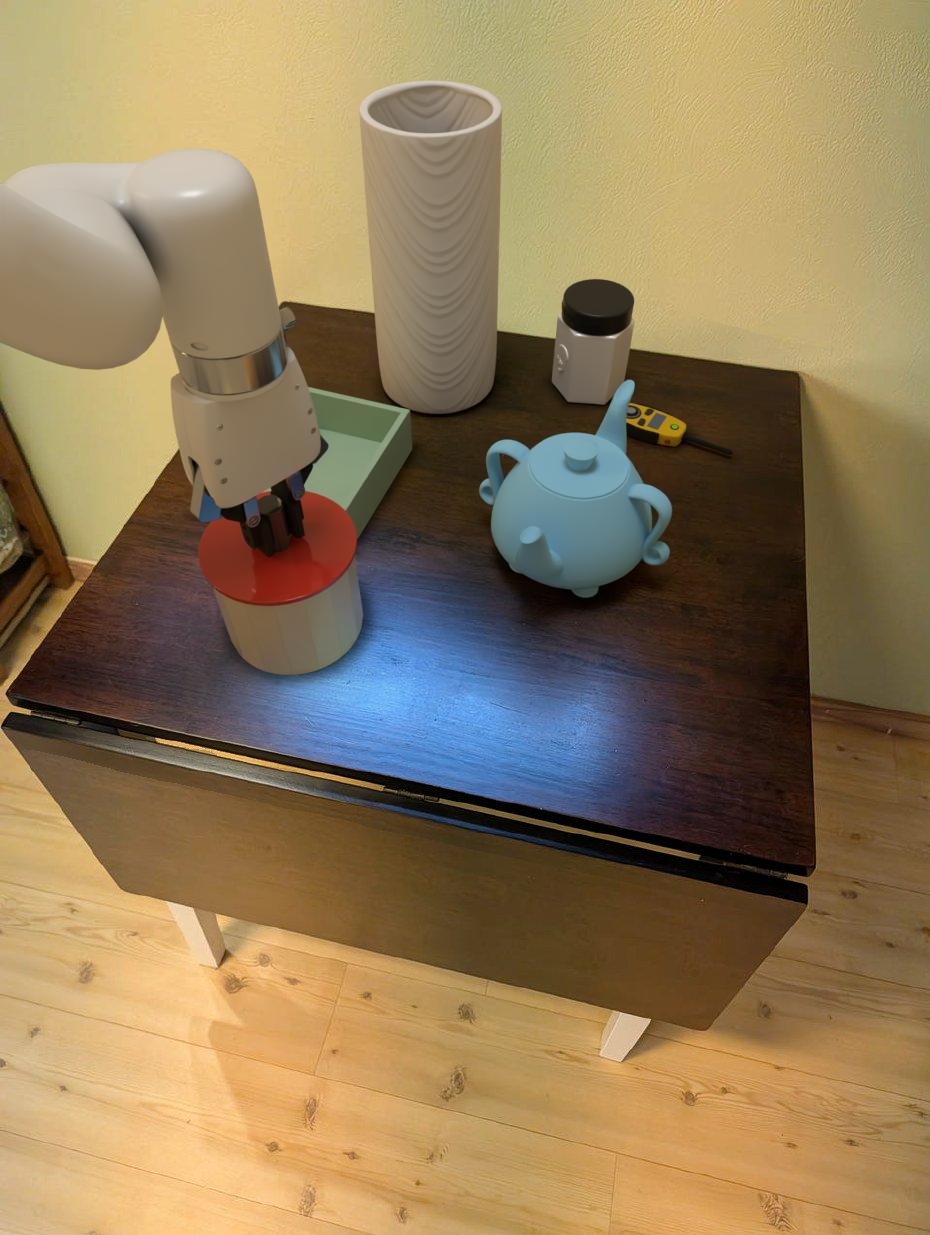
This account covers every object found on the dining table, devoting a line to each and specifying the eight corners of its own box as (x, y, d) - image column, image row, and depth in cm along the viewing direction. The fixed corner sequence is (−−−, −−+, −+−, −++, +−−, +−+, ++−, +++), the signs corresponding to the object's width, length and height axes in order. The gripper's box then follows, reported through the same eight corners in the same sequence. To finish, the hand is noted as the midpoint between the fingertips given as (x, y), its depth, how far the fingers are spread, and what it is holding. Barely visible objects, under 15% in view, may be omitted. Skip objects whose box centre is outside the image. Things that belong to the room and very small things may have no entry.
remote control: (621, 393, 101) (742, 433, 97) (619, 406, 103) (738, 446, 98) (604, 415, 99) (728, 457, 94) (602, 428, 100) (724, 470, 95)
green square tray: (349, 553, 87) (343, 514, 83) (200, 513, 91) (187, 473, 87) (412, 449, 98) (410, 409, 93) (276, 417, 101) (268, 377, 97)
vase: (399, 343, 111) (381, 73, 87) (505, 359, 109) (518, 86, 85) (365, 409, 102) (335, 128, 78) (480, 427, 100) (486, 144, 76)
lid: (206, 625, 69) (188, 579, 64) (196, 512, 77) (180, 464, 73) (370, 593, 71) (364, 547, 66) (344, 487, 79) (337, 439, 75)
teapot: (614, 483, 94) (633, 375, 83) (676, 615, 82) (708, 510, 71) (471, 503, 92) (472, 396, 81) (514, 642, 80) (522, 537, 69)
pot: (237, 687, 77) (210, 614, 69) (226, 586, 84) (201, 510, 76) (373, 659, 79) (363, 585, 71) (351, 563, 86) (339, 486, 78)
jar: (541, 373, 107) (549, 285, 98) (598, 358, 109) (610, 270, 100) (574, 413, 102) (585, 324, 93) (633, 397, 104) (649, 309, 95)
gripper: (292, 288, 64) (323, 474, 78) (98, 376, 56) (172, 563, 71) (355, 327, 60) (376, 514, 74) (158, 427, 53) (223, 613, 67)
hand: (276, 537), depth 72 cm, fingers closed on lid, 2 cm apart
